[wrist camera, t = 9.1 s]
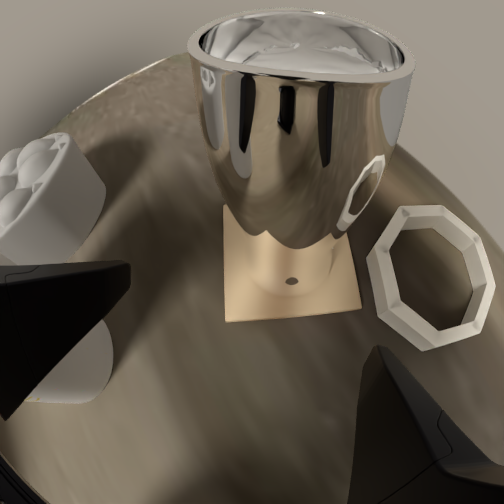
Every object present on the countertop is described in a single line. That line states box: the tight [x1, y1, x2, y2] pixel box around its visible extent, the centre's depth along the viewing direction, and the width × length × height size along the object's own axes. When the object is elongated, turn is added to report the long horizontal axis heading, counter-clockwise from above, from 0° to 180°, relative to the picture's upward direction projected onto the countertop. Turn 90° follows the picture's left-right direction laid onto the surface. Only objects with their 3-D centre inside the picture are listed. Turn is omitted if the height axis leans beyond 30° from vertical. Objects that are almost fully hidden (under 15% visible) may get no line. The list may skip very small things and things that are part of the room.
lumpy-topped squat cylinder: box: [0, 133, 106, 265], centre depth 19 cm, size 10×13×9 cm
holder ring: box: [366, 205, 496, 352], centre depth 17 cm, size 11×11×2 cm
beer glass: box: [187, 8, 416, 297], centre depth 13 cm, size 7×7×15 cm
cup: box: [0, 253, 113, 403], centre depth 12 cm, size 8×8×12 cm
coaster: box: [223, 205, 362, 322], centre depth 20 cm, size 9×9×1 cm
